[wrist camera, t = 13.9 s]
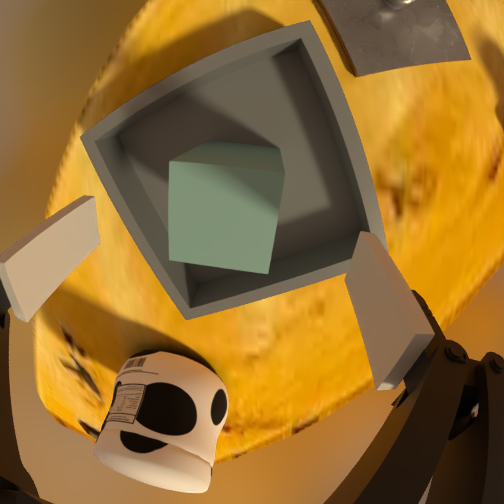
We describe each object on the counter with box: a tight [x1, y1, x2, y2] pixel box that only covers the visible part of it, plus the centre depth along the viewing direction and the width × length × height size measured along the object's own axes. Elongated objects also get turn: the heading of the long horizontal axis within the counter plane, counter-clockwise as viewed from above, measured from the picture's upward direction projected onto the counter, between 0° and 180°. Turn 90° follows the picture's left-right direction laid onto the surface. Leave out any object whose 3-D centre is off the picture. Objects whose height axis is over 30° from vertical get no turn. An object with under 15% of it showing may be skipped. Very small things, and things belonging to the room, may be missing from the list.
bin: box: [80, 20, 388, 320], centre depth 22 cm, size 20×20×5 cm
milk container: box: [94, 350, 228, 493], centre depth 32 cm, size 17×17×18 cm
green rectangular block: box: [168, 140, 285, 274], centre depth 19 cm, size 6×6×10 cm
